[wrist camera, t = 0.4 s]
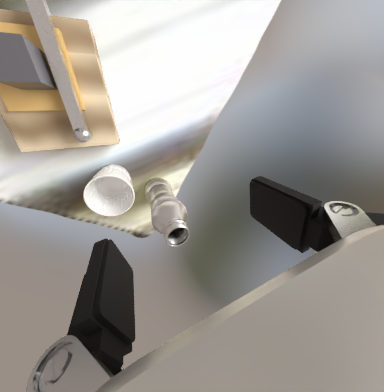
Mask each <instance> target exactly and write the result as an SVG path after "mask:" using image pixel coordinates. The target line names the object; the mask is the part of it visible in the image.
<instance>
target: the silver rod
mask: <svg viewBox="0 0 384 392" xmlns="http://www.w3.org/2000/svg"><path fill="white" fill-rule="evenodd" d="M26 3H27V6H28V8H29V11H30V14H31V16H32V19H33V22H34V25H35V27H36V30H37V33H38V35H39V38H40V41H41V44H42V46H43V49H44V52H45V54H46V57H47V60H48V63H49V65H50V68H51V71H52V74H53V76H54V79H55V82H56V84H57V87H58V90H59V93H60V95H61V98H62V101H63V103H64V106H65V109H66V112H67V114H68V117H69V120H70V122H71V125H72V128H73V131H74V132H73V135H74V138H75V139H76V140H77V141H79V142H87V141H89V140H91V139H92V137H93V135H92V132H91V131H90V130H89V129H88V127H87V124H86V121H85V118H84V115H83V112H82V109H81V106H80V103H79V100H78V97H77V94H76V91H75V88H74V85H73V82H72V78H71V75H70V72H69V69H68V66H67V63H66V60H65V57H64V54H63V51H62V48H61V45H60V42H59V39H58V36H57V32H56V29H55V26H54V23H53V20H52V17H51V14H50V11H49V8H48V5H47V2H46V0H26Z"/></svg>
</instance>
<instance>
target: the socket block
mask: <svg viewBox="0 0 384 392" xmlns="http://www.w3.org/2000/svg"><path fill="white" fill-rule="evenodd" d="M51 17H52V20H53V23H54V26H55V28H59V30H60V31H61V33H62V36H63V39H64V42H65V45H66V49H67V52H68V55H69V58H70V61H71V64H72V68H73V71H74V74H75V77H76V80H77V83H78V87H79V90H80V93H81V96H82V99H83V102H84V106H85V109H86V110H82V112H83V115H84V118H85V121H86V124H87V127H88V129H89V130H90V131H91V132H92V135H93V137H92V139H91V140H89V141H87V142H79V141H77V140H76V139H75V138H74V135H73V132H74V131H73V128H72V125H71V122H70V120H69V117H68V114H67V112H66V111H25V112H10V111H9V110H8V108H7V107H6V105H5V103H4V101H3V99H2V97H1V95H0V113H1V115H2V117H3V119H4V121H5V123H6V124H7V126H8V128H9V130H10V132H11V134H12V135H13V137H14V139H15V141H16V143H17V145H18V146H19V148H20V150H21V152H32V151H43V150H54V149H66V148H77V147H89V146H100V145H111V144H119V142H120V140H119V136H118V132H117V128H116V124H115V120H114V116H113V111H112V107H111V103H110V99H109V95H108V91H107V87H106V83H105V79H104V75H103V71H102V67H101V63H100V59H99V55H98V51H97V47H96V43H95V39H94V36H93V33H92V31H91V28H90V26H89V23H88V21H87V20H81V19H74V18H66V17H58V16H51ZM0 22H5V23H14V24H23V25H32V26H35V25H34V22H33V19H32V16H31V14H30V13H28V12H20V11H13V10H5V9H0Z"/></svg>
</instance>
